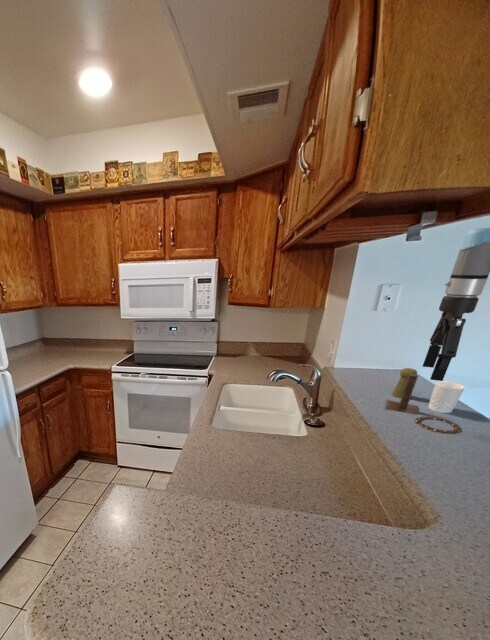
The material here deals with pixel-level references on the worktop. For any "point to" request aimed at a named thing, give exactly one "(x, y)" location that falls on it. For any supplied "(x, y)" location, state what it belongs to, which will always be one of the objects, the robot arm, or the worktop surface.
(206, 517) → the worktop surface
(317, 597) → the worktop surface
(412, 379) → the stand
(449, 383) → the white cup
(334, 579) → the worktop surface
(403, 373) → the cork
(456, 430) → the ring
